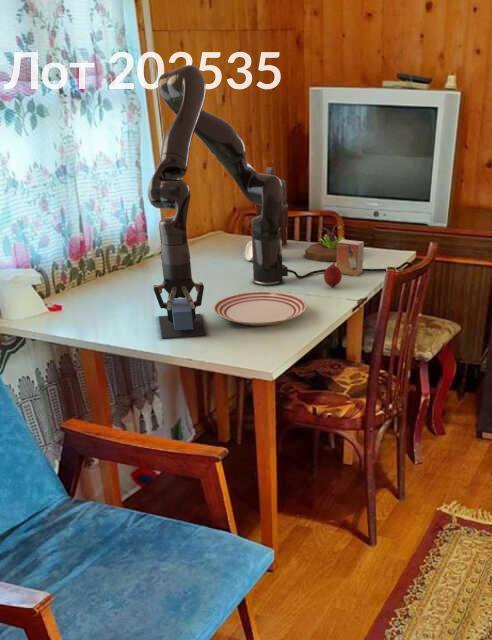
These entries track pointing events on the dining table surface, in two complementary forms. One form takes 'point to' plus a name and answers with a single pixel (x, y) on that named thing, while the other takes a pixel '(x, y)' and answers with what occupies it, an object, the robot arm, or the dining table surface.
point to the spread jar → (250, 254)
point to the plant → (325, 247)
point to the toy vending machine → (284, 209)
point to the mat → (170, 332)
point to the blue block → (182, 314)
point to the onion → (332, 275)
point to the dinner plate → (260, 308)
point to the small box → (350, 257)
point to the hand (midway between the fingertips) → (182, 321)
